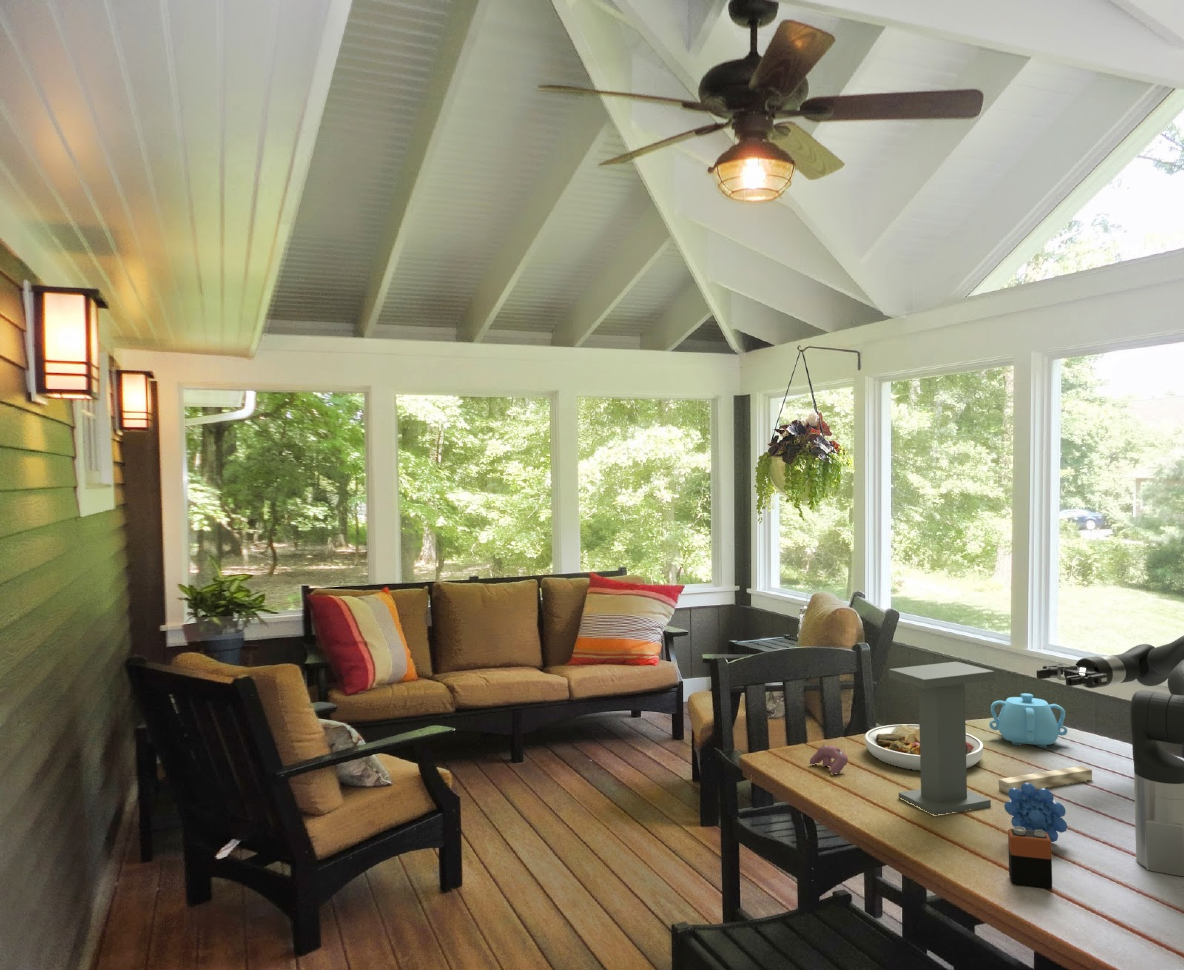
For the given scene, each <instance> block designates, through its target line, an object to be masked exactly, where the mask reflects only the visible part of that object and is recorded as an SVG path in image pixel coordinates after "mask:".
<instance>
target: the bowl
mask: <svg viewBox="0 0 1184 970" xmlns="http://www.w3.org/2000/svg"><path fill="white" fill-rule="evenodd" d="M864 735H865V736H864V740H865V742H864V743H865V745H866V748H867V750H868V751H869V752H870V754H872V756H873V757H875V758H876V759H877V758H878V760H879V761H882V762H883V763H885V764H887V763H888V765H890V764H891V766H893V765H894V767H896V766H898V767H897V768H900V767H901V768H900V769H905V768H906V770H910V769H912V770H911V771H916V770H919V771H918V772H921V769H920V725H919V724H915V723H913V724H912V723H911V724H907V723H906V724H904V723H903V724H888V725H883V726H878V727H875V728H872V729H870V730H868V731H867V732H866V733H865V734H864ZM983 753H984V743H983V742H982V741H981V740H980V739H979V738H977V737H976V736H974V735H972V734H969V733H967V732H966V769H968V768H971V767H973V766H975V765H976V764H978V762H979V761H980V760H981V759H982V756H983Z"/></svg>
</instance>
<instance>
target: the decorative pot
mask: <svg viewBox="0 0 1184 970" xmlns="http://www.w3.org/2000/svg"><path fill="white" fill-rule="evenodd" d="M997 705H1002V707H1001V710H1000V713H999V715H998V716H997V714H996V710H995V709H996V708H995V706H997ZM1052 709H1057V710H1059V711H1060V718H1059V720H1057V718H1056V715H1055V714H1054V712H1053V710H1052ZM990 713H991V716H992V718H993V720H990V721H989V728H990V729H991V730H993V731H999V733H1000V734H1001V736H1002V737H1003V739H1004V740H1006V741H1008V742H1011V744H1012V745H1015V746H1021V745H1022V744H1025V745H1026V744H1027V745H1036V747H1040V748H1047V747H1048V746H1047V745H1052V744H1054V743H1055V742H1056V741H1057V739H1058V738H1059V736H1066V735H1067V734H1068V728H1067V727H1066V726H1064V725H1063V723H1064V721H1065V718H1066V710H1065V708H1063V707H1062V705H1061V706H1060V705H1059V704H1057V703H1052V704H1049V703H1048V702H1047V701H1046V700H1045V699H1043V698H1035V697H1034V694H1032V693H1027V692H1026V693H1025V692H1024V693H1020V696H1011V697H1008V698H1006V700H1001V699H1000V700H996V701H993V702H992V704H991V705H990ZM993 724H995V726H994V725H993ZM1061 729H1062V730H1063V731H1061Z"/></svg>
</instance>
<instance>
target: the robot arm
mask: <svg viewBox="0 0 1184 970" xmlns="http://www.w3.org/2000/svg"><path fill="white" fill-rule="evenodd" d="M1062 675H1063V676H1062ZM1036 679H1038V680H1045V679H1057V680H1058V681H1065V686H1067V687H1073V686H1083V687H1085V688H1088V689H1097V688H1104V687H1111V686H1114V685H1117V684H1123V683H1130V682H1134V681H1135V680H1136V681H1137V682H1138V683H1139V684H1140V685H1143V686H1146V687H1154V686H1158V685H1161V684H1163V683H1165V682H1166V681H1167V689H1168V691H1169V693H1166V692H1157V691H1152V690H1137V691H1135V692H1134V693H1133V695H1132V697H1131V700H1130V705H1129V720H1130V721H1129V722H1130V730H1131V734H1130V735H1131V743H1132V744H1131V745H1132V747H1131V748H1132V760H1133V773H1134V774H1133V777H1134V778H1133V782H1134V783H1133V784H1134V785H1133V786H1134V789H1133V791H1134V824H1135V825H1134V828H1135V829H1134V830H1135V832H1134V833H1135V860H1136V862H1137V863H1139V864H1140V865H1141V866H1143V867H1144V868H1145V869H1146V870H1147V871H1151V872H1158V873H1162V874H1169V875H1173V876H1179V877H1184V759H1182V758H1179V757H1177V756H1175V755H1174V754H1172V753H1170V752H1169V751H1167V750H1166V749H1165V748H1163V747H1162V746H1161V745H1160V744H1159V743H1158V742H1163V743H1167V744H1168V743H1169V744H1173V745H1174V744H1175V745H1184V635H1181V636H1180V637H1179V638H1177V639H1175V640H1174V641H1172V642H1170V643H1167V644H1163V645H1160V646H1157V647H1155V646H1153V645H1152V644H1148V643H1142V644H1141V643H1140V644H1137V645H1135V646H1133V647H1131V648H1129V649H1128V650H1126V651H1125V652H1123V653H1119V654H1114V655H1113V654H1112V655H1097V656H1096V655H1095V656H1091V657H1090V656H1088V657H1082V658H1080V659H1078V661H1077V662H1076V663H1075V664H1069V665H1064V664H1062V663H1057V664H1047V665H1042V669H1037V670H1036Z"/></svg>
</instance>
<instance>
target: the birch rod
mask: <svg viewBox="0 0 1184 970" xmlns="http://www.w3.org/2000/svg"><path fill="white" fill-rule="evenodd" d="M1087 780H1090V781H1093V770H1092V769H1091V768H1089V767H1086V766H1083V765H1079V766H1072V767H1065V768H1059V769H1053V770H1047V771H1042V772H1041V771H1039V772H1036V773H1030V774H1028V773H1027V774H1022V775H1016V776H1010V777H1003V778H998V791H1000V792H1003V793H1005V794H1007V795H1008V792H1009V789H1011V788H1017V789H1020V791H1021V786H1022V784H1024V783H1030V784H1033V786H1034V787H1035V788H1036V789H1037V790H1039V789H1041V788H1045V789H1047V787H1048V788H1053V786H1054V787H1058V786H1065V785H1064V784H1066V785H1070V784H1069V783H1072V784H1077V783H1084V782H1088V781H1087ZM1083 781H1084V782H1083ZM1021 792H1022V791H1021Z"/></svg>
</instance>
